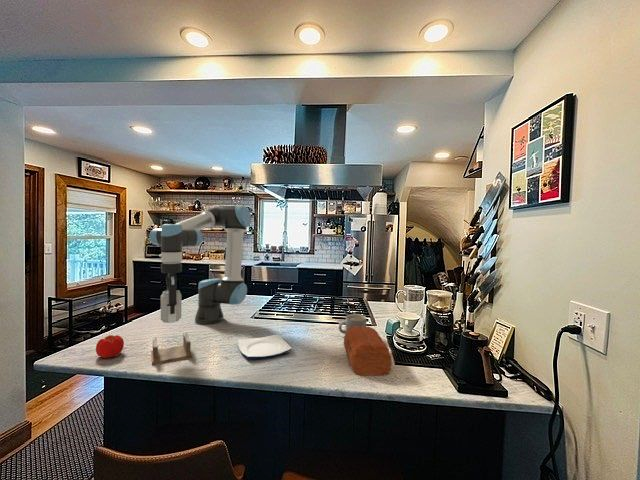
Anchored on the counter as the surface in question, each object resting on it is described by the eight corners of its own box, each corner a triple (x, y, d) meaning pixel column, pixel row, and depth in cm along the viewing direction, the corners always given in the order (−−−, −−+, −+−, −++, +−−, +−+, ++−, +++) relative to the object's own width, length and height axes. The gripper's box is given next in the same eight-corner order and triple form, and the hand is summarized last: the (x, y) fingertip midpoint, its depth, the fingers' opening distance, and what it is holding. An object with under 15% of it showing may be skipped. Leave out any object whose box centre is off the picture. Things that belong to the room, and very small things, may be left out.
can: (172, 324, 115) (173, 293, 115) (156, 322, 117) (156, 292, 116) (185, 318, 122) (185, 289, 122) (169, 317, 124) (169, 288, 123)
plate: (245, 364, 114) (245, 358, 114) (235, 345, 132) (235, 339, 132) (294, 355, 123) (294, 349, 123) (278, 338, 141) (278, 333, 141)
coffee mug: (365, 334, 149) (365, 314, 149) (366, 341, 139) (367, 320, 139) (338, 333, 150) (338, 313, 150) (338, 340, 140) (338, 319, 140)
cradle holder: (188, 346, 129) (188, 331, 129) (192, 357, 119) (192, 341, 118) (151, 353, 122) (151, 337, 121) (151, 365, 111) (151, 347, 111)
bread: (376, 346, 134) (377, 323, 134) (393, 376, 107) (394, 347, 107) (342, 346, 133) (342, 323, 133) (351, 376, 106) (352, 347, 106)
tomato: (103, 362, 113) (103, 343, 112) (91, 357, 117) (91, 338, 117) (129, 353, 121) (129, 335, 120) (117, 349, 125) (117, 331, 125)
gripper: (159, 260, 125) (159, 313, 126) (162, 265, 108) (162, 327, 109) (179, 259, 129) (179, 311, 130) (184, 265, 112) (184, 324, 113)
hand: (171, 318), depth 119 cm, fingers closed on can, 7 cm apart
